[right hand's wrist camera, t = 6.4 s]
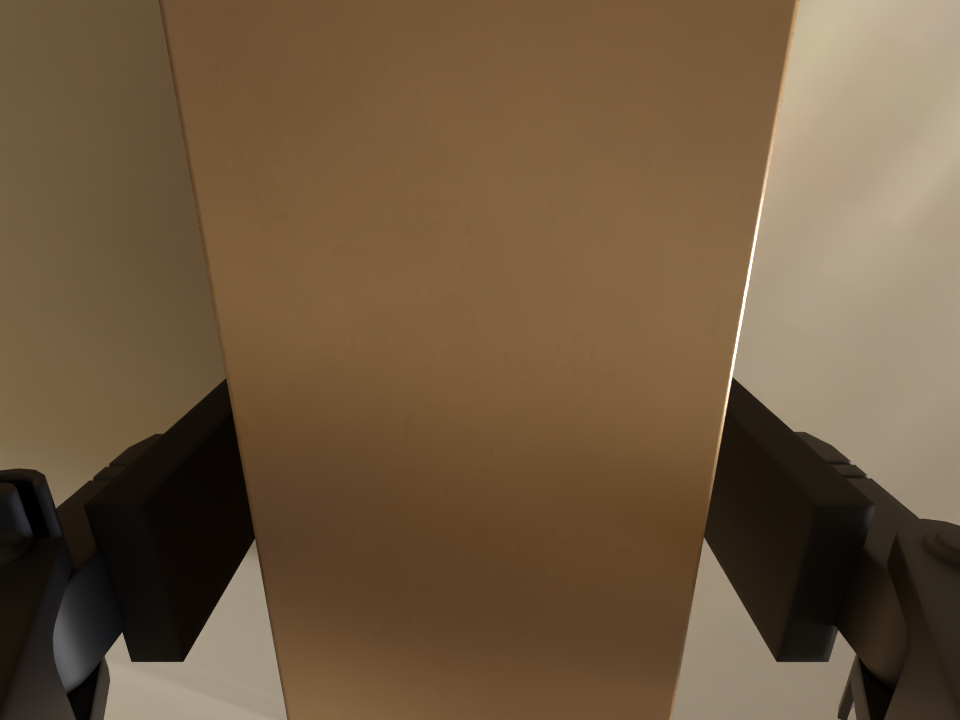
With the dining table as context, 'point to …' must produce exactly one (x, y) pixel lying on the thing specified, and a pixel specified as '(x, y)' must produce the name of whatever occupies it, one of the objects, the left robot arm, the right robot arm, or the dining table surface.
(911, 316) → the dining table surface
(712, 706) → the dining table surface
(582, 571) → the beam
